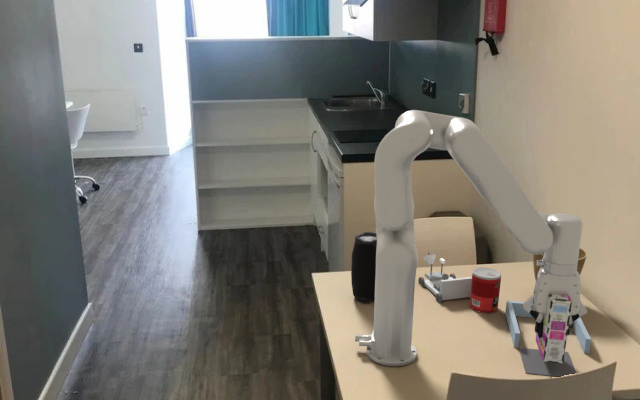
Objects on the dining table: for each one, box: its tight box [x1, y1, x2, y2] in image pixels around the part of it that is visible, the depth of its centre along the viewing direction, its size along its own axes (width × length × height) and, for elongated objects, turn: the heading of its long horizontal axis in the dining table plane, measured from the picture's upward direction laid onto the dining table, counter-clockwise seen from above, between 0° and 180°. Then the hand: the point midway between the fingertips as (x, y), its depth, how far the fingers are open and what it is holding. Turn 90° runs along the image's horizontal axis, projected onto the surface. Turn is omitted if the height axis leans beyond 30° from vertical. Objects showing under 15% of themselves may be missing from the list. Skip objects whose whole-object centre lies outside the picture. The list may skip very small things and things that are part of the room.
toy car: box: [417, 252, 472, 304], centre depth 199 cm, size 18×10×12 cm
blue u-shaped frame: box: [505, 300, 592, 354], centre depth 174 cm, size 18×19×4 cm
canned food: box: [469, 267, 502, 314], centre depth 187 cm, size 8×8×11 cm
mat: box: [518, 347, 577, 377], centre depth 160 cm, size 12×12×1 cm
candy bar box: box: [535, 295, 572, 364], centre depth 157 cm, size 11×5×16 cm, turn 172°
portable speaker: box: [350, 231, 377, 304], centre depth 191 cm, size 9×9×20 cm
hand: (551, 335), depth 158 cm, fingers closed on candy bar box, 5 cm apart
